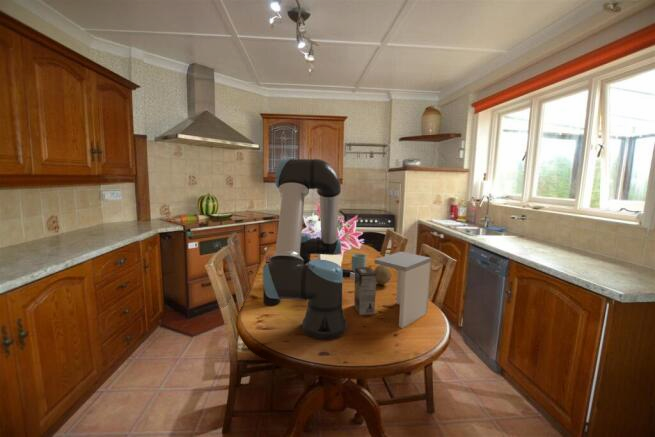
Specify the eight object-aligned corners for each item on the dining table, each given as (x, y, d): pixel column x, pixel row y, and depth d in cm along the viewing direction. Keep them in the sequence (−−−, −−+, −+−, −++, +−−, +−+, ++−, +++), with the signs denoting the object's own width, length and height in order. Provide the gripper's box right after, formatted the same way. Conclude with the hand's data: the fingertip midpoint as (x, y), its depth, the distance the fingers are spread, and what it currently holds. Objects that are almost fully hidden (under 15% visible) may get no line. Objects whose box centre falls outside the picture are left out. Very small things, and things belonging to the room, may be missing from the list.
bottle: (260, 304, 123) (259, 256, 120) (269, 298, 129) (268, 252, 126) (274, 307, 120) (274, 258, 118) (283, 300, 127) (283, 254, 124)
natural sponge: (395, 287, 144) (396, 267, 143) (378, 289, 142) (378, 268, 140) (385, 281, 153) (386, 262, 151) (369, 282, 150) (370, 263, 149)
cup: (364, 276, 159) (365, 258, 158) (350, 275, 161) (350, 256, 160) (366, 271, 167) (366, 254, 166) (352, 270, 168) (352, 253, 167)
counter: (402, 328, 106) (406, 267, 102) (372, 315, 115) (374, 259, 111) (427, 312, 118) (431, 257, 115) (398, 302, 127) (401, 251, 124)
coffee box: (353, 305, 124) (354, 267, 122) (368, 304, 125) (370, 266, 123) (359, 315, 115) (360, 274, 113) (375, 314, 116) (377, 273, 114)
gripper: (334, 272, 148) (369, 284, 133) (295, 285, 130) (330, 299, 116) (335, 258, 147) (370, 267, 132) (295, 268, 129) (331, 281, 115)
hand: (352, 282), depth 124 cm, fingers open, 13 cm apart
